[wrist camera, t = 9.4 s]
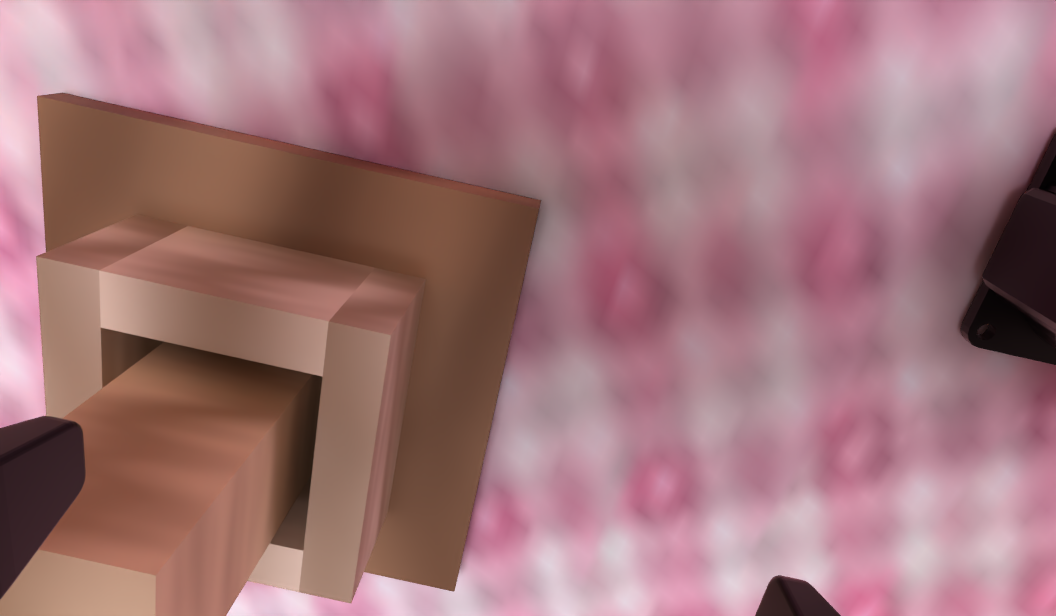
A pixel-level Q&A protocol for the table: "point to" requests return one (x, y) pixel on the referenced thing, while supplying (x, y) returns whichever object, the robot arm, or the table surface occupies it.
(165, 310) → the well
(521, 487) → the table surface
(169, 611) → the peg
